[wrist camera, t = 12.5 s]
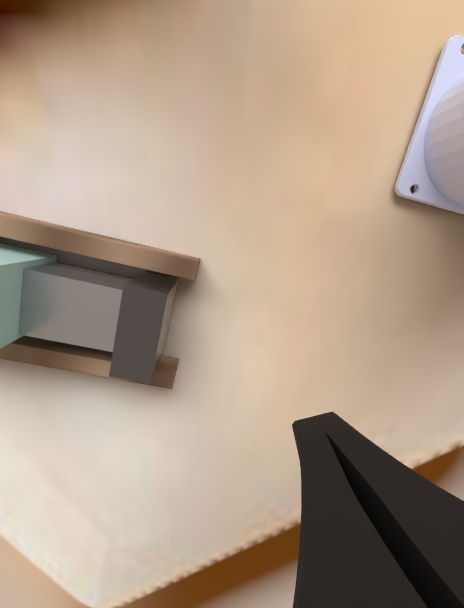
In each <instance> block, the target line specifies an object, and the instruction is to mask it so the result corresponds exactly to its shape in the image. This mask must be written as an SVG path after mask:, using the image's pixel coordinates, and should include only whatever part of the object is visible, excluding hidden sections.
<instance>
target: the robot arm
mask: <svg viewBox="0 0 464 608" xmlns="http://www.w3.org/2000/svg"><path fill="white" fill-rule="evenodd" d="M461 48H463V50H464V36H462V35H454V36H452V37H451V38H450V39H449V40H448V41H447V42H446V43H445V44H444V46H443V49H442V52H441V55H440V57H439V60H438V63H437V66H436V69H435V72H434V75H433V78H432V80H431V83H430V86H429V89H428V92H427V95H426V98H425V101H424V104H423V106H422V109H421V112H420V115H419V118H418V121H417V124H416V127H415V129H414V132H413V135H412V138H411V141H410V144H409V147H408V150H407V152H406V155H405V158H404V161H403V164H402V167H401V170H400V173H399V175H398V178H397V181H396V184H395V193H396V194H397V195H398V196H400V197H403V198H407V199H410V200H414V201H417V202H421V203H424V204H428V205H431V206H435V207H438V208H442V209H445V210H449V211H452V212H456V213H459V214H463V215H464V55H463V54H462V53H461ZM411 186H414V192H413V194H412V193H411V191H410V188H411ZM292 427H293V432H294V436H295V441H296V445H297V450H298V454H299V459H300V467H301V500H302V509H301V533H300V547H299V559H298V569H297V578H296V588H295V595H294V603H293V608H464V501H462V500H460V499H459V498H457V497H455V496H454V495H452V494H450V493H448V492H447V491H445V490H443V489H442V488H440V487H438V486H436V485H435V484H434V483H432V482H430V481H429V480H427V479H425V478H424V477H422V476H421V475H419V474H418V473H416V472H415V471H413V470H411V469H410V468H408V467H407V466H405V465H404V464H402V463H401V462H399V461H398V460H397V459H395V458H394V457H392V456H391V455H389V454H388V453H387V452H385V451H384V450H382V449H381V448H380V447H378V446H377V445H375V444H374V443H373V442H371V441H370V440H369V439H367V438H366V437H365V436H363V435H362V434H361V433H359V432H358V431H357V430H355V429H354V428H353V427H352V426H350V425H349V424H348V423H347V422H345V421H344V420H343V419H342V418H340V417H339V416H338V415H337V414H335V413H334V412H329V413H325V414H321V415H317V416H313V417H309V418H305V419H301V420H297V421H295V422H294V423H293V424H292Z"/></svg>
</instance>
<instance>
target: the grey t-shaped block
mask: <svg viewBox="0 0 464 608" xmlns="http://www.w3.org/2000/svg"><path fill="white" fill-rule="evenodd" d="M177 284H178V279H176V278H171V277H167V276H162V275H158V274H153V273H149V272H144V273H142V274H140V275H139V276H137V277H136V278H134V279H130V278H126V277H121V276H117V275H112V274H108V273H103V272H99V271H94V270H90V269H85V268H81V267H76V266H72V265H67V264H63V263H58V262H55V263H50V264H45V265H40V266H35V267H30V268H25V269H24V274H23V287H22V300H21V312H20V325H19V334H20V335H25V336H30V337H35V338H41V339H46V340H51V341H56V342H62V343H67V344H72V345H78V346H83V347H88V348H93V349H99V350H104V351H109V352H113V353H112V360H111V366H110V372H109V377H114V378H120V379H125V380H131V381H136V382H142V383H147V384H151V381H152V379H153V376H154V374H155V371H156V369H157V366H158V364H159V361H160V359H161V356H162V354H163V351H164V349H165V344H166V339H167V334H168V329H169V324H170V319H171V314H172V309H173V304H174V299H175V294H176V289H177Z"/></svg>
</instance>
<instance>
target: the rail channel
mask: <svg viewBox="0 0 464 608" xmlns="http://www.w3.org/2000/svg"><path fill="white" fill-rule="evenodd" d="M0 236H1V237H5V238H10V239H14V240H18V241H23V242H27V243H32V244H36V245H41V246H45V247H49V248H54V249H58V250H63V251H67V252H72V253H76V254H80V255H85V256H89V257H94V258H98V259H103V260H107V261H111V262H116V263H120V264H125V265H129V266H133V267H138V268H142V269H147V270H151V271H156V272H160V273H164V274H169V275H173V276H178V277H182V278H187V279H191V280H195V279H196V276H197V272H198V267H199V263H200V258H196V257H191V256H187V255H183V254H179V253H174V252H170V251H166V250H162V249H157V248H153V247H149V246H145V245H140V244H136V243H132V242H128V241H124V240H119V239H115V238H111V237H107V236H102V235H98V234H94V233H90V232H85V231H81V230H77V229H73V228H68V227H64V226H60V225H56V224H51V223H47V222H43V221H39V220H34V219H30V218H26V217H22V216H17V215H13V214H9V213H5V212H1V211H0ZM112 353H113V352H109V351H104V350H99V349H93V348H88V347H83V346H78V345H72V344H67V343H62V342H56V341H51V340H46V339H41V338H35V337H30V336H25V335H24V336H22V337H20V338H19V339H17V340H15V341H13V342H11V343H10V344H8V345H6V346H4V347H3V348H1V349H0V358H2V359H7V360H13V361H18V362H24V363H30V364H35V365H41V366H46V367H52V368H58V369H63V370H69V371H74V372H80V373H86V374H91V375H97V376H102V377H108V378H114V377H109V372H110V366H111V360H112ZM178 360H179V359H177V358H171V357H166V356H161V359H160V361H159V364H158V366H157V369H156V371H155V374H154V376H153V379H152V381H151V384H147V383H142V382H136V381H131V380H125V379H120V378H114V379H119V380H125V381H130V382H136V383H142V384H147V385H153V386H158V387H164V388H170V389H172V386H173V382H174V378H175V374H176V369H177V365H178Z"/></svg>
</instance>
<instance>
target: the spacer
mask: <svg viewBox="0 0 464 608" xmlns="http://www.w3.org/2000/svg"><path fill="white" fill-rule="evenodd" d="M56 261H57V256H55V255H50V254H46V253H41V252H37V251H32V250H28V249H23V248H19V247H14V246H10V245H5V244H1V243H0V349H1V348H3V347H4V346H6V345H8V344H10V343H11V342H13V341H15V340H17V339H19V338H20V337H22V336H24V335H20V334H19V325H20V312H21V300H22V287H23V274H24V269H25V268H30V267H35V266H40V265H45V264H50V263H55V262H56Z"/></svg>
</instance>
